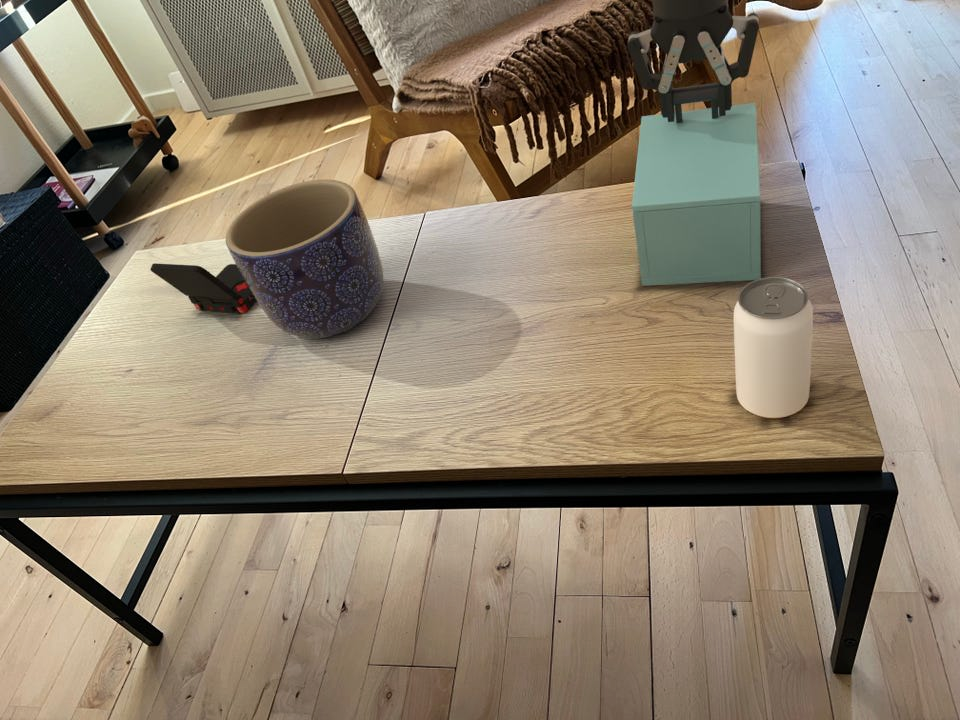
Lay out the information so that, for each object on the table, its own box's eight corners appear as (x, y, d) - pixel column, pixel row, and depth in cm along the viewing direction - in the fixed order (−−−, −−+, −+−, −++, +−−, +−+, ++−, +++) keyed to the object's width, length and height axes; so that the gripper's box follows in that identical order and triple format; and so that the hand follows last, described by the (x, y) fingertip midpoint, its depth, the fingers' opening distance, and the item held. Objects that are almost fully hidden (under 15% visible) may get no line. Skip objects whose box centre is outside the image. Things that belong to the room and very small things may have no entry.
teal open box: (651, 210, 102) (643, 140, 95) (757, 201, 98) (756, 128, 91) (642, 286, 91) (632, 213, 84) (760, 279, 86) (760, 202, 80)
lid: (642, 121, 94) (637, 85, 91) (756, 108, 90) (755, 69, 87) (632, 212, 84) (626, 174, 81) (760, 201, 80) (760, 161, 76)
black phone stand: (281, 274, 112) (252, 215, 106) (233, 329, 105) (198, 269, 98) (231, 271, 116) (200, 214, 110) (181, 324, 109) (145, 266, 102)
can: (810, 374, 75) (815, 273, 67) (807, 424, 70) (812, 322, 63) (739, 370, 77) (736, 273, 69) (732, 418, 73) (728, 320, 65)
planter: (418, 280, 103) (382, 180, 93) (348, 363, 93) (300, 262, 83) (323, 267, 111) (282, 175, 101) (250, 343, 101) (195, 249, 92)
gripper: (612, -14, 79) (631, 139, 90) (763, -41, 74) (764, 124, 85) (619, -39, 84) (636, 108, 95) (761, -66, 79) (762, 92, 90)
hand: (696, 115), depth 90 cm, fingers closed on lid, 5 cm apart
